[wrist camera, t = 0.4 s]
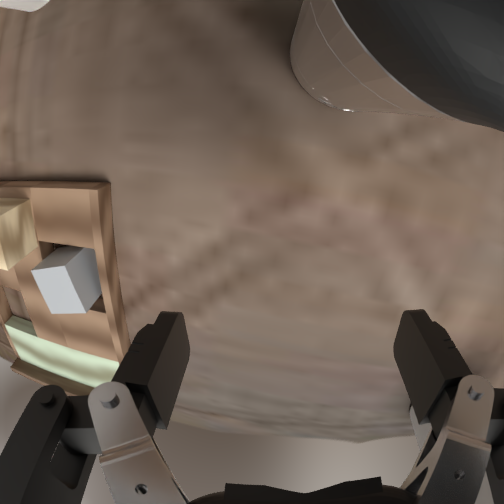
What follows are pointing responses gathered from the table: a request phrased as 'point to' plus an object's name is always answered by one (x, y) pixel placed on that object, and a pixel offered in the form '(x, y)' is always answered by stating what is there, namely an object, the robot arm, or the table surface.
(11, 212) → the maple cube
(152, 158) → the table surface
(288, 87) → the table surface
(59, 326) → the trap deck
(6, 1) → the cylindrical container
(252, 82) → the table surface
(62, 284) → the trapped grey cube
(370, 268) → the table surface
